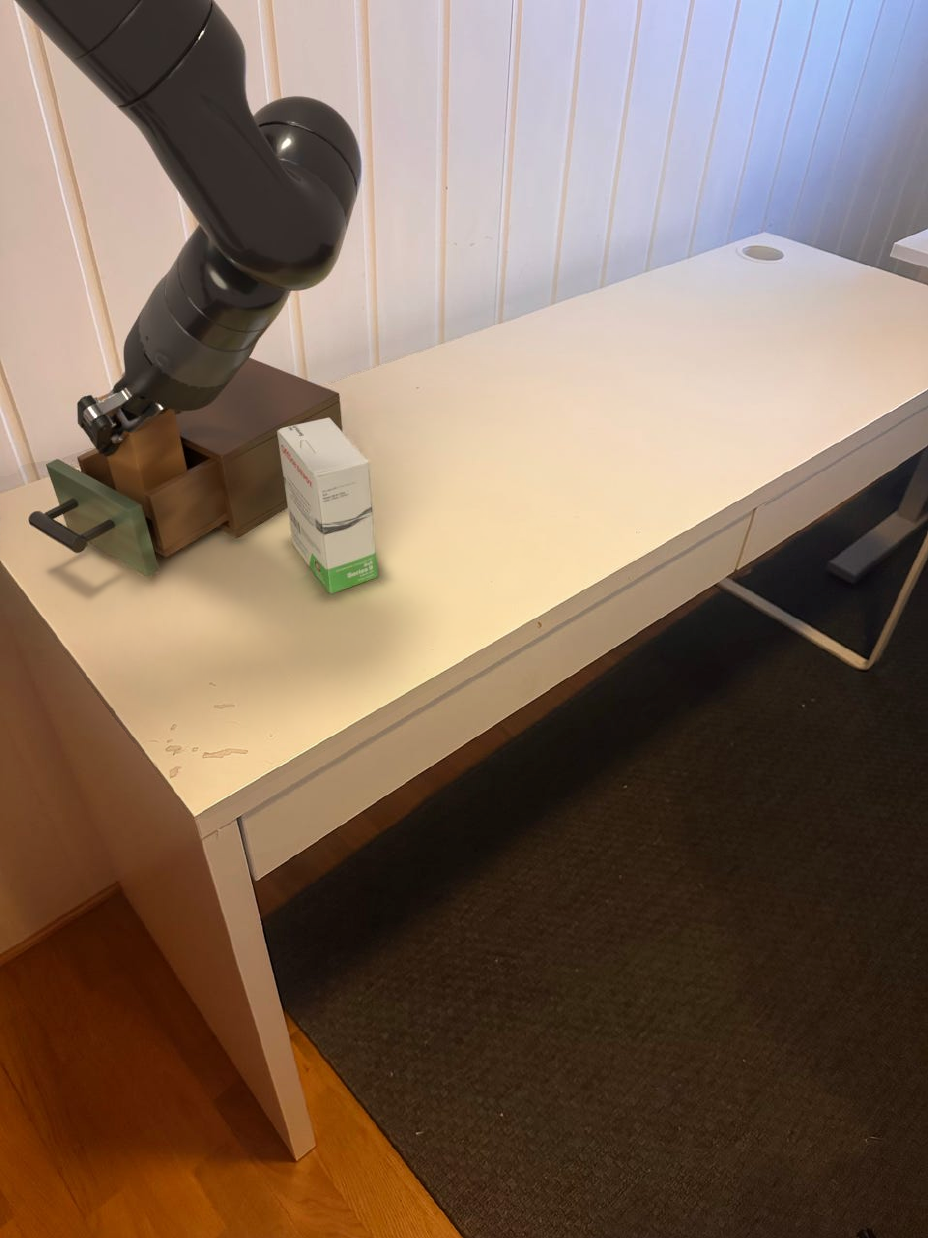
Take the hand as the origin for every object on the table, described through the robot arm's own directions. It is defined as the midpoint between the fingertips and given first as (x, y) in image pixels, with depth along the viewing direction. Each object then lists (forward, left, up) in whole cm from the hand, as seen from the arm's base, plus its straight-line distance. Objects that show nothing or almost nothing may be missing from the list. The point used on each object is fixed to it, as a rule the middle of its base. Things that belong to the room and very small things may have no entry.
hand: (127, 433), depth 77 cm
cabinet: (+9, +6, -9) cm, 14 cm away
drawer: (0, -2, -8) cm, 9 cm away
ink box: (+17, -8, -10) cm, 21 cm away
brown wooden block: (+1, -1, -6) cm, 6 cm away
